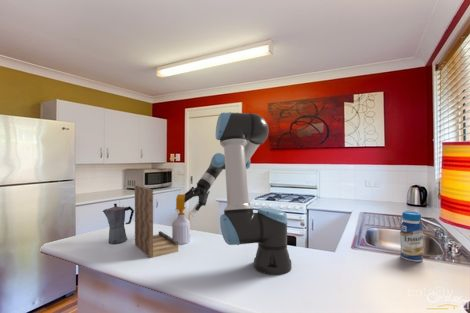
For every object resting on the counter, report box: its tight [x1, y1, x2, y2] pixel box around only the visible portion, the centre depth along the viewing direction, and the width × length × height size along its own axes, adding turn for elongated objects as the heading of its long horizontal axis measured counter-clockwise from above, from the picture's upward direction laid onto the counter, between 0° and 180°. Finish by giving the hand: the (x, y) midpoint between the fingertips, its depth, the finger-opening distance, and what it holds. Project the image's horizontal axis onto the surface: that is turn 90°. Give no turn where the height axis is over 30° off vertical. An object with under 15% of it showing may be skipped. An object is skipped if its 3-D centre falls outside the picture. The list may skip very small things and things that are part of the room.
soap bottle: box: [171, 193, 191, 245], centre depth 140 cm, size 9×9×25 cm
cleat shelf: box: [134, 184, 179, 259], centre depth 130 cm, size 22×14×30 cm, turn 37°
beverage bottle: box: [399, 210, 424, 263], centre depth 116 cm, size 8×8×20 cm
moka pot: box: [102, 203, 135, 245], centre depth 141 cm, size 10×15×20 cm, turn 107°
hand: (184, 213), depth 142 cm, fingers open, 13 cm apart
